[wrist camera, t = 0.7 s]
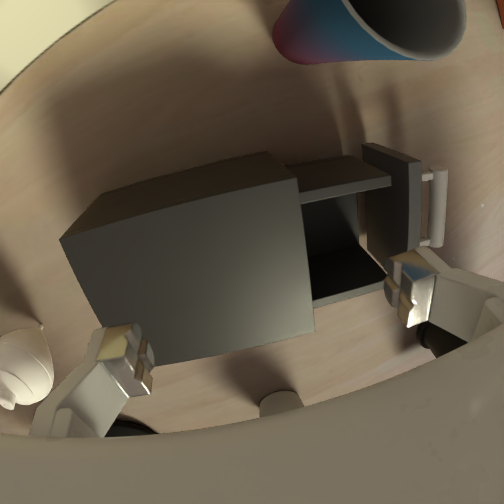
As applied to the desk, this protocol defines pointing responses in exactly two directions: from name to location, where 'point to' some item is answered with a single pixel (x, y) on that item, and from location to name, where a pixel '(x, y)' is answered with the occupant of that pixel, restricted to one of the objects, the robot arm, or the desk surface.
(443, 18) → the cup
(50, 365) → the spinning top
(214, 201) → the cabinet
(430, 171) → the drawer
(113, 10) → the desk surface
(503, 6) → the block
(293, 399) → the cup
